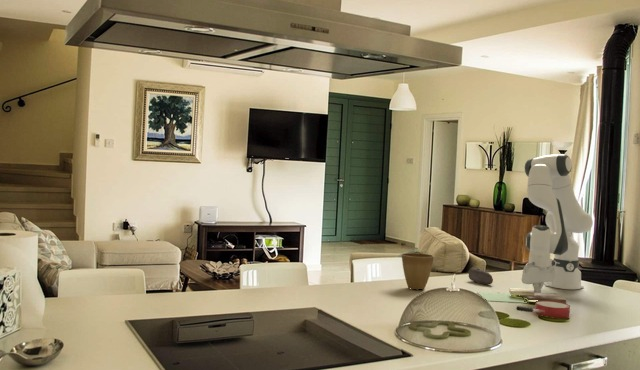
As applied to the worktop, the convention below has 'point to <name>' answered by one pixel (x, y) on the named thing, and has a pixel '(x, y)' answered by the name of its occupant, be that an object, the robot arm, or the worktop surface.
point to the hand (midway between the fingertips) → (537, 292)
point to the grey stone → (480, 276)
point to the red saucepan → (549, 309)
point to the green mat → (500, 297)
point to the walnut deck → (545, 297)
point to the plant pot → (417, 269)
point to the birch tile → (521, 291)
